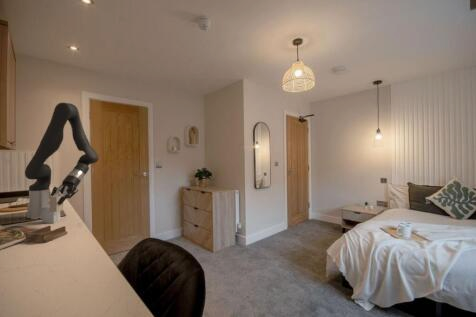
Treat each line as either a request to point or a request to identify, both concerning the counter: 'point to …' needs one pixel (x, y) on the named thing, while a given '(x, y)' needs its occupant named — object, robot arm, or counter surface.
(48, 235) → the slot stand
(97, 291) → the counter surface
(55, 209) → the clay bar
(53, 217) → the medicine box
